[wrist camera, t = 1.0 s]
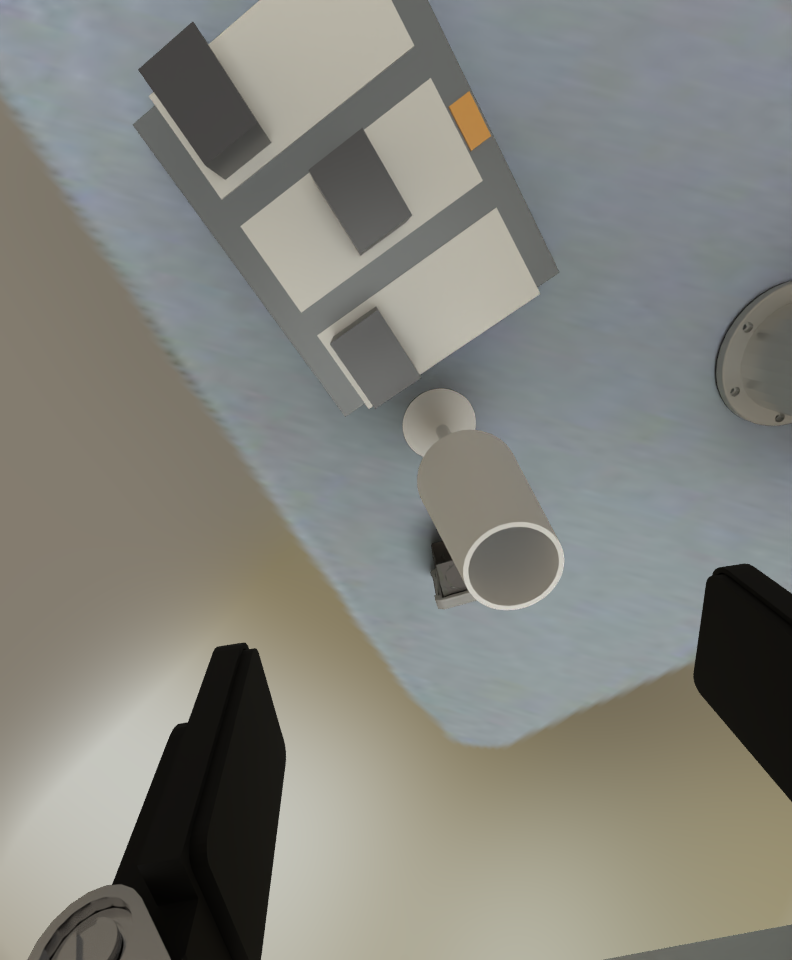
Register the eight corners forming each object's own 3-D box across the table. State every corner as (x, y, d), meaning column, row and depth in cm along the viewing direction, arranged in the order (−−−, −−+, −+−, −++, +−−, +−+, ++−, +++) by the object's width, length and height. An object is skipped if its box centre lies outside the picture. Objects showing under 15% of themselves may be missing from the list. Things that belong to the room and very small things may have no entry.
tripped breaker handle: (362, 146, 34) (362, 127, 30) (406, 222, 36) (412, 215, 32) (314, 182, 35) (308, 170, 30) (360, 255, 36) (360, 253, 32)
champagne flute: (412, 380, 44) (464, 487, 21) (485, 397, 45) (607, 516, 22) (394, 452, 46) (425, 615, 24) (464, 466, 47) (556, 636, 25)
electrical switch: (431, 576, 51) (443, 628, 42) (418, 532, 50) (427, 575, 41) (520, 551, 51) (551, 598, 42) (509, 505, 49) (538, 544, 41)
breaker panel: (377, -69, 32) (382, -171, 25) (548, 278, 41) (589, 278, 34) (145, 129, 36) (88, 91, 28) (349, 412, 44) (347, 439, 37)
